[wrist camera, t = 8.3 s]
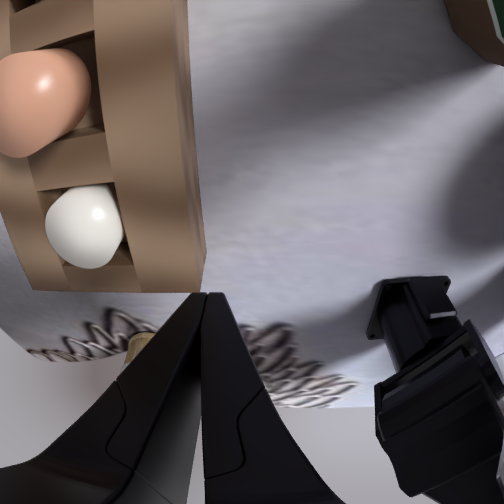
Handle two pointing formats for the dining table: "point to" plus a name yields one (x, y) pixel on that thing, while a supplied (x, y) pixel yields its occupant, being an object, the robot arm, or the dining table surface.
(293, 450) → the robot arm
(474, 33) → the beer bottle
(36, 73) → the middle knob
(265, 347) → the dining table surface
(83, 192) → the knob
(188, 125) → the knob mount
